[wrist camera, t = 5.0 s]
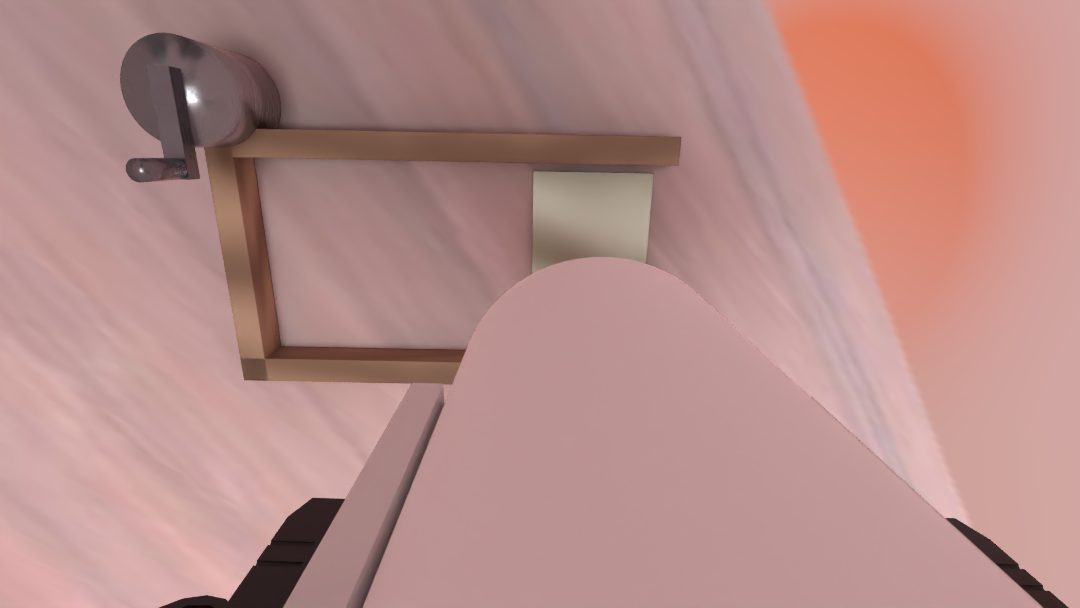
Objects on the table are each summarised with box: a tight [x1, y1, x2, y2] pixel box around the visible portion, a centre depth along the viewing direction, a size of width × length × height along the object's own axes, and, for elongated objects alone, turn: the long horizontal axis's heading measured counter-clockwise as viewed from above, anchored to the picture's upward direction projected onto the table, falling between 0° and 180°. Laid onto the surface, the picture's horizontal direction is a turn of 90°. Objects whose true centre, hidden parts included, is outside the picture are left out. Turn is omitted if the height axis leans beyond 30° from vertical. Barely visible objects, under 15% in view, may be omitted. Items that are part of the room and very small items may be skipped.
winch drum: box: [120, 33, 281, 182], centre depth 25 cm, size 6×5×8 cm
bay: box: [204, 129, 681, 384], centre depth 30 cm, size 15×26×2 cm, turn 89°
